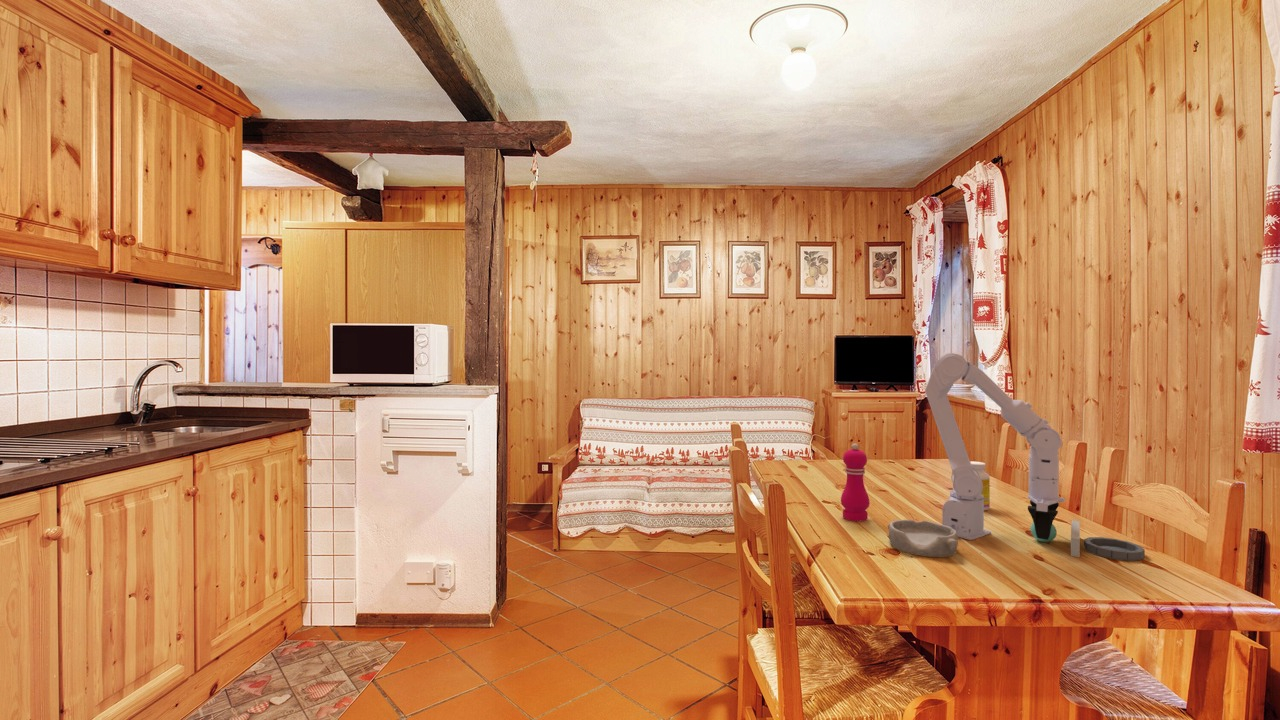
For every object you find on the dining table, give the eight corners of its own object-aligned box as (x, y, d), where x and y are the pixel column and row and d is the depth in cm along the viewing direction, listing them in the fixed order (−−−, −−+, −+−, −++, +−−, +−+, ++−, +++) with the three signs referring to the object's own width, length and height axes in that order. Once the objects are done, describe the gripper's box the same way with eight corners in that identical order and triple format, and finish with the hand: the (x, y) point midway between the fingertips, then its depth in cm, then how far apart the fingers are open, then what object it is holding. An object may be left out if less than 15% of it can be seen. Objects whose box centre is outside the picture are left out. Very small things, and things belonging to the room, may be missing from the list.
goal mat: (1133, 564, 120) (1133, 555, 120) (1076, 550, 128) (1076, 542, 128) (1150, 554, 125) (1150, 546, 125) (1095, 542, 133) (1095, 534, 133)
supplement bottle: (995, 509, 161) (995, 464, 160) (978, 512, 158) (978, 465, 158) (973, 504, 167) (973, 459, 167) (956, 506, 164) (956, 461, 164)
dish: (966, 561, 122) (966, 538, 122) (896, 557, 125) (896, 534, 125) (944, 539, 137) (944, 518, 136) (882, 536, 139) (882, 515, 139)
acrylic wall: (1079, 557, 124) (1079, 539, 124) (1070, 556, 125) (1070, 537, 125) (1079, 537, 136) (1079, 521, 136) (1071, 536, 137) (1071, 519, 137)
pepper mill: (835, 515, 156) (834, 442, 156) (857, 513, 159) (857, 440, 158) (852, 523, 149) (852, 446, 149) (875, 520, 152) (875, 444, 151)
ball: (1050, 546, 131) (1050, 524, 131) (1026, 540, 135) (1026, 519, 135) (1060, 542, 133) (1060, 520, 133) (1036, 536, 138) (1036, 515, 138)
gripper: (1064, 485, 126) (1064, 547, 126) (1065, 473, 137) (1065, 530, 138) (1025, 481, 130) (1025, 541, 130) (1029, 470, 142) (1029, 525, 142)
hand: (1043, 535), depth 134 cm, fingers closed on ball, 5 cm apart
